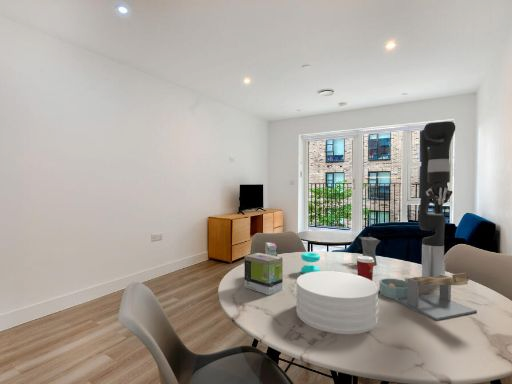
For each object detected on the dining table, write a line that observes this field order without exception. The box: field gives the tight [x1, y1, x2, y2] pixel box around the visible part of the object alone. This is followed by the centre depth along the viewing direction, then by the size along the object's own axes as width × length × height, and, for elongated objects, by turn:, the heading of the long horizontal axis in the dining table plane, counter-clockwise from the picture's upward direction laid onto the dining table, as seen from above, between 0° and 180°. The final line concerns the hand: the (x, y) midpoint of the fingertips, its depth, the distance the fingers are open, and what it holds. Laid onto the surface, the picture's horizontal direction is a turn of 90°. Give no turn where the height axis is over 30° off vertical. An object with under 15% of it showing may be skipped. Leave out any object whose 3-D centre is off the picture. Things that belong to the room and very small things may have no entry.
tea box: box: [243, 252, 284, 296], centre depth 125 cm, size 15×10×15 cm
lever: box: [403, 272, 470, 286], centre depth 108 cm, size 30×16×4 cm, turn 18°
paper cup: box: [355, 255, 374, 281], centre depth 125 cm, size 8×8×14 cm
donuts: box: [300, 252, 321, 274], centre depth 148 cm, size 10×10×10 cm
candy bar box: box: [264, 241, 278, 256], centre depth 143 cm, size 11×5×16 cm, turn 5°
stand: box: [396, 274, 478, 322], centre depth 106 cm, size 17×20×10 cm
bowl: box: [378, 277, 408, 300], centre depth 119 cm, size 12×12×5 cm
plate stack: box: [296, 270, 379, 335], centre depth 100 cm, size 28×28×12 cm
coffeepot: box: [354, 233, 381, 267], centre depth 167 cm, size 15×9×18 cm, turn 44°
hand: (438, 213), depth 112 cm, fingers closed
